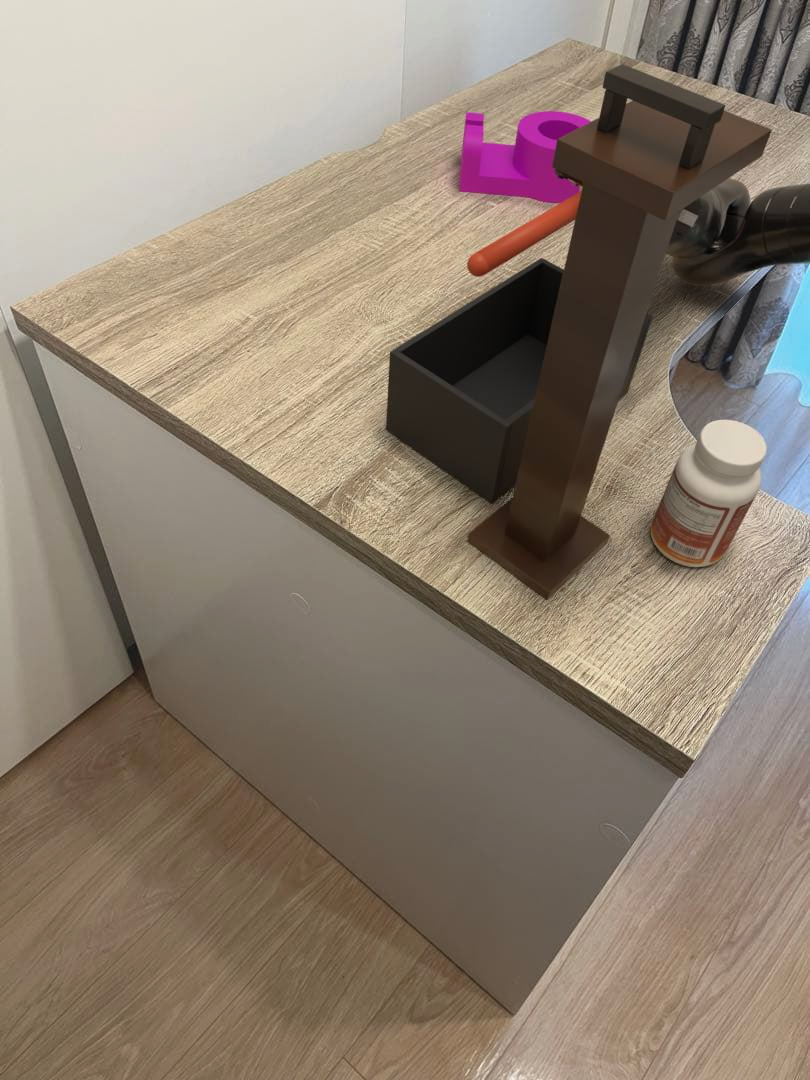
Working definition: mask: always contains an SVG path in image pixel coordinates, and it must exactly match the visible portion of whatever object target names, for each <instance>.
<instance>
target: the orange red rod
mask: <svg viewBox="0 0 810 1080" xmlns="http://www.w3.org/2000/svg"><path fill="white" fill-rule="evenodd" d="M581 192H582V191H580V192H579V193H577V194H575V195H573V196H572V197H570V198H568V199H567V200H565V201H563V202H561V203H557V204H556V205H555V206H553V207H551V208H549V209H548V210H546V211H544V212H543V213H541V214H539V215H537V216H535V217H534V218H532V219H530V220H529V221H527V222H525V223H524V224H522V225H521V226H518V227H517V228H515V229H514V230H512V231H510V232H508V233H506V234H505V235H503V236H501V237H499V238H498V239H496V240H495V241H493V242H491V243H489V244H488V245H486V246H484V247H482V248H481V249H479V250H478V251H476V252H474V253H472V254H471V255H469V258H468V259H467V261H466V267H467V270H468V272H469V274H470V275H471V276H474V277H477V278H479V277H483V276H485V275H487V274H488V273H490V272H492V271H494V270H495V269H497V268H499V267H500V266H502V265H503V264H505V263H506V262H509V261H510V260H512V259H513V258H515V257H516V256H518V255H520V254H521V253H524V252H525V251H527V250H528V249H530V248H531V247H533V246H535V245H536V244H538V243H540V242H541V241H543V240H545V239H546V238H548V237H550V236H551V235H553V234H554V233H557V232H558V231H559V230H561V229H562V228H564V227H566V226H567V225H569V224H571V223H573V222H575V219H576V214H577V210H578V205H579V201H580V196H581Z"/></svg>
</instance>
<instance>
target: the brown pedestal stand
mask: <svg viewBox="0 0 810 1080" xmlns="http://www.w3.org/2000/svg"><path fill="white" fill-rule="evenodd" d="M602 89H604V95H603V100H602V103H601V108H600V113H599V117H598V118H596V119H594V120H592V121H591V122H590V123H588V124H586V125H584V126H582V127H580V128H578V129H576V130H574V131H572V132H570V133H569V134H567V135H565V136H563V137H561V138H559V139H557V143H556V148H555V153H554V158H553V164H552V167H553V168H555V169H557V170H559V171H561V172H563V173H565V174H567V175H569V176H572V177H574V178H576V179H578V180H580V181H582V182H584V183H583V188H582V192H581V196H580V201H579V205H578V210H577V214H576V219H575V220H574V224H573V228H572V232H571V237H570V241H569V245H568V246H569V247H568V250H567V253H566V259H565V262H564V263H565V264H564V268H563V269H564V272H563V276H562V281H561V285H560V290H559V294H558V299H557V303H556V307H555V312H554V316H553V321H552V325H551V330H550V334H549V339H548V343H547V347H546V352H545V356H544V361H543V365H542V370H541V374H540V378H539V383H538V387H537V392H536V396H535V401H534V405H533V410H532V414H531V418H530V423H529V427H528V432H527V436H526V441H525V445H524V450H523V454H522V458H521V463H520V467H519V472H518V476H517V481H516V484H515V485H514V490H513V494H512V497H511V498H510V499H508V501H506V502H505V503H504V504H503V505H502V506H500V507H498V509H497V510H495V511H494V512H493V513H492V514H490V515H489V516H487V518H485V519H484V520H483V521H482V522H481V523H479V524H478V525H477V526H476V527H475V528H473V530H471V531H470V532H469V533H468V535H467V542H468V543H469V544H471V545H472V546H473V547H474V548H476V549H477V550H479V551H480V552H481V553H483V554H484V555H486V556H487V557H488V558H490V559H491V560H492V561H494V562H495V563H496V564H498V565H499V566H500V567H502V568H503V569H505V570H506V572H508V573H510V574H512V575H513V576H514V577H516V579H518V580H519V581H521V582H522V583H524V584H525V585H526V586H528V587H529V588H530V589H532V590H533V591H535V592H536V593H537V594H539V595H540V596H542V597H543V598H544V599H545V600H549V599H550V598H551V597H552V596H553V595H554V594H555V593H556V592H557V591H558V590H559V589H560V588H561V587H562V586H563V585H564V584H566V583H567V582H568V581H569V580H570V579H571V578H572V577H573V576H574V575H575V574H576V573H577V572H579V570H580V569H581V568H582V567H584V565H586V563H588V562H589V561H590V560H591V559H592V558H593V557H594V556H595V555H596V554H597V553H598V552H599V551H601V549H602V548H603V547H604V546H605V545H607V544H608V541H609V539H610V534H609V533H607V532H606V531H604V530H603V529H602V528H601V527H599V526H598V525H595V524H594V523H593V522H591V521H590V520H588V519H586V518H585V517H583V516H582V514H583V510H584V508H585V504H586V502H587V498H588V497H589V492H590V490H591V486H592V483H593V480H594V477H595V473H596V471H597V469H598V468H597V467H598V464H599V461H600V458H601V455H602V453H603V449H604V445H605V443H606V440H607V436H608V433H609V431H610V428H611V424H612V421H613V418H614V415H615V412H616V408H617V406H618V403H619V401H620V399H619V397H620V394H621V390H622V387H623V384H624V381H625V378H626V375H627V372H628V369H629V366H630V363H631V360H632V356H633V353H634V350H635V347H636V344H637V341H638V338H639V335H640V332H641V329H642V325H643V322H644V319H645V316H646V314H648V310H649V307H650V303H651V300H652V297H653V294H654V291H655V288H656V285H657V282H658V279H659V277H660V273H661V269H662V266H663V263H664V260H665V257H666V251H667V248H668V245H669V242H670V239H671V236H672V233H673V230H674V227H675V223H676V220H677V217H678V214H679V211H680V210H682V209H683V208H685V207H686V206H688V205H689V204H691V203H692V202H694V201H695V200H697V199H698V198H700V197H701V196H703V195H704V194H706V193H707V192H709V191H710V190H712V189H713V188H715V187H716V186H718V185H719V184H721V183H722V182H724V181H725V180H727V179H728V178H732V176H734V175H736V174H737V173H739V172H741V171H742V170H744V169H745V168H747V167H749V166H750V165H751V164H752V163H754V162H756V161H757V160H759V159H760V158H762V157H763V155H764V152H765V150H766V147H767V144H768V141H769V139H770V136H771V133H772V131H773V130H772V128H769V127H767V126H764V125H762V124H759V123H756V122H754V121H752V120H749V119H747V118H745V117H741V116H740V115H737V114H734V113H732V112H729V111H727V110H725V108H726V104H724V103H722V102H719V101H717V100H714V99H711V98H709V97H707V96H704V95H702V94H700V93H696V92H694V91H691V90H689V89H687V88H684V87H681V86H679V85H676V84H674V83H672V82H669V81H667V80H664V79H661V78H659V77H656V76H654V75H652V74H649V73H646V72H644V71H642V70H639V69H636V68H634V67H631V66H629V65H626V64H624V63H621V64H619V65H617V66H615V67H613V68H611V69H608V70H606V71H605V73H604V78H603V83H602ZM628 100H631V101H628Z"/></svg>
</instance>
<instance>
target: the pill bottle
mask: <svg viewBox="0 0 810 1080" xmlns="http://www.w3.org/2000/svg"><path fill="white" fill-rule="evenodd" d="M767 449H768V447H767V443H766V440H765V438H763V436H762V434H761V433H760V432H758V431H757V430H756V429H755V428H754V427H752V426H750V425H748V424H746V423H744V422H740V421H737V420H732V419H717V420H713V421H711V422H709V423H707V424H706V425H705V426H704V427H703V428H702V430H701V431H700V433H699V435H698V438H697V440H696V442H694V443H692V444H691V445H689V446H687V447H686V448H685V449H683V450H682V452H681V453H680V454H679V457H678V459H677V461H676V462H675V466H674V468H673V471H672V473H671V475H670V478H669V480H668V482H667V485H666V487H665V490H664V492H663V494H662V496H661V499H660V501H659V504H658V507H657V509H656V512H655V513H654V515H653V516H654V517H653V519H652V522H651V525H650V536H651V539H652V542H653V544H654V546H655V547H656V549H658V550H659V552H660V553H661V554H662V555H663V556H665V558H667V559H668V560H670V561H672V562H674V563H676V564H679V565H681V566H685V567H689V568H690V567H691V568H703V567H707V566H711V565H713V564H715V563H716V562H718V561H720V560H721V559H722V558H723V557H724V556H725V554H726V552H727V551H728V550H729V547H730V546H731V544H732V543H733V540H734V538H735V536H736V534H737V532H738V530H739V528H740V527H741V525H742V523H743V521H744V519H745V517H746V516H747V513H748V511H749V509H750V508H751V506H752V504H753V503H754V500H755V498H756V497H757V495H758V493H759V490H760V488H761V485H762V472H761V466H762V463H763V461H764V460H765V458H766V455H767V451H768V450H767Z"/></svg>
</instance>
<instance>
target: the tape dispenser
mask: <svg viewBox="0 0 810 1080" xmlns="http://www.w3.org/2000/svg"><path fill="white" fill-rule="evenodd" d="M484 121H485V114H484V113H481V112H470V111H466V112H465V119H464V126H463V137H462V147H461V157H460V171H459V186H458V187H459V188H458V189H459V190H458V191H459V192H468V193H476V194H477V193H479V194H489V195H498V196H499V195H500V196H513V197H523V198H531V199H533V200H536V201H540V202H543V203H544V202H545V203H551V204H552V203H553V204H556V203H557V204H560V203H561V202H563V201H565V200H567V199H568V198H570V197H572V196H573V195H575V194H577V193H579V192H580V185H579V186H578V187H577V186H575V185H573V182H571V181H569V180H567V179H565V178H563V180H562V179H560V178H558V177H557V174H555V173H554V172H555V168H553V167H552V164H553V158H554V153H555V148H556V143H557V139H559V138H561V137H563V136H565V135H567V134H569V133H570V132H572V131H574V130H576V129H578V128H580V127H582V126H584V125H586V124H588V123H590V122H592V121H591V120H590V119H588V118H586V117H583V116H581V115H578V114H574V113H570V112H566V111H558V110H543V111H536V112H532V113H529V114H527V115H525V116H524V117H522V118H521V119H519V122H518V124H517V130H516V136H515V142H514V144H507V143H494V142H493V143H492V142H484V132H485V131H484V130H485V129H484V128H485V127H484V124H485V123H484Z"/></svg>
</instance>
